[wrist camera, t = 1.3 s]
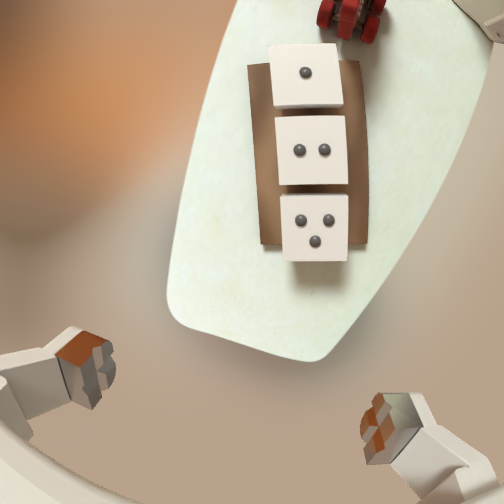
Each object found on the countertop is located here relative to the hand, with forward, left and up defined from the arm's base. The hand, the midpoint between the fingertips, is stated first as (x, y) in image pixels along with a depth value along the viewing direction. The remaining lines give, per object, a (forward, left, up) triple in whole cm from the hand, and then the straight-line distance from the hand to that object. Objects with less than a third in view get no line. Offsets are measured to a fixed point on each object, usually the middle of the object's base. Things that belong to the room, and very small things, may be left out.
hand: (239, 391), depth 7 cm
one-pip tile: (-2, -15, -25) cm, 29 cm away
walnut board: (-2, -7, -28) cm, 29 cm away
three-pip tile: (-2, +1, -25) cm, 25 cm away
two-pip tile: (-2, -7, -25) cm, 26 cm away
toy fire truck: (-9, -26, -29) cm, 39 cm away
